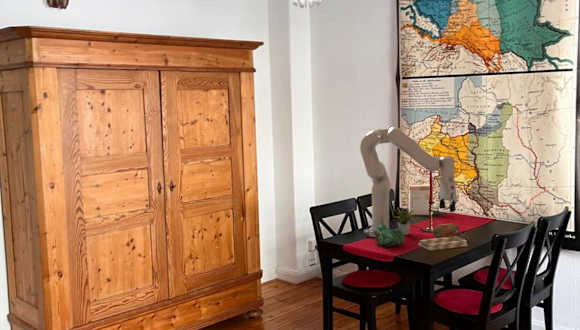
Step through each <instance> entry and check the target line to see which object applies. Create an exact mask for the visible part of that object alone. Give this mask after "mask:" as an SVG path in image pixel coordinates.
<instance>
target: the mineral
mask: <svg viewBox="0 0 580 330" xmlns="http://www.w3.org/2000/svg"><path fill="white" fill-rule="evenodd" d="M373 231H374V235H375V237H374V238H375V241H376V243H377V244H378V245H379V246H381V247H382V246H383V247H391V246H399V245H403V244H404V241H405V235H404V233H403V232H402V231H401V230H400V229H399V228H394V229H391V228H390V227H389V228H387V227H386V226H385V225H384V224H380V225H378V226H377V227H376V228H374V230H373Z"/></svg>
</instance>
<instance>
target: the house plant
mask: <svg viewBox="0 0 580 330" xmlns="http://www.w3.org/2000/svg"><path fill="white" fill-rule="evenodd" d="M396 208H397V210H396V209H394V212H396V214H397V215H398V216H394V218H395V219H396V218H397V219H399V222H397V226H398V229H400V230H401V231H402V232H403V233H404V236H407V235H409V233H410V227H411V223H410V222H409V221H410V220H414V216H415V215H410V214H411V213H414V212H413V210H412V211H411V212H409V205H407V206H406V209H404V206H401V208H402V209H399V207H396ZM414 210H416V209H414Z"/></svg>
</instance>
